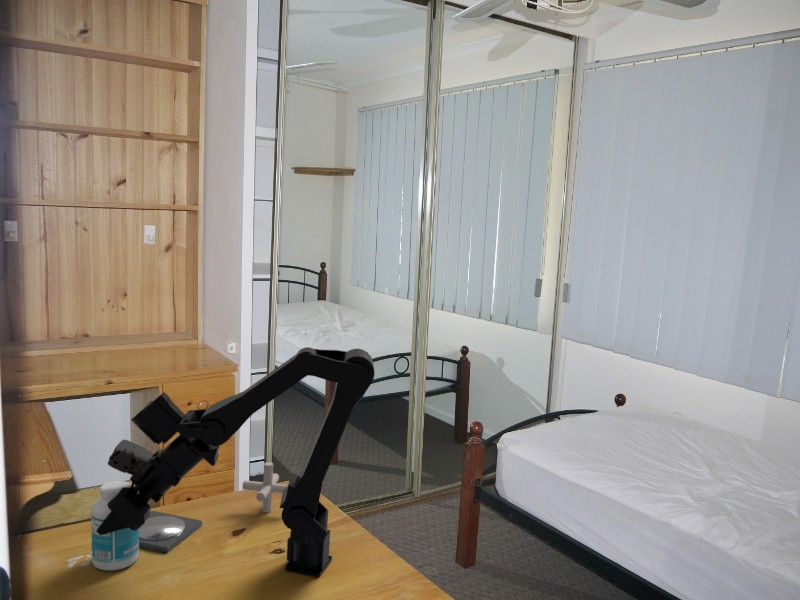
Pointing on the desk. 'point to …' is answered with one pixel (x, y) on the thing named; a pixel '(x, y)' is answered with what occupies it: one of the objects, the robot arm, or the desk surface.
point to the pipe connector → (266, 487)
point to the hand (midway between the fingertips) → (107, 521)
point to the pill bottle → (112, 534)
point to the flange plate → (166, 531)
